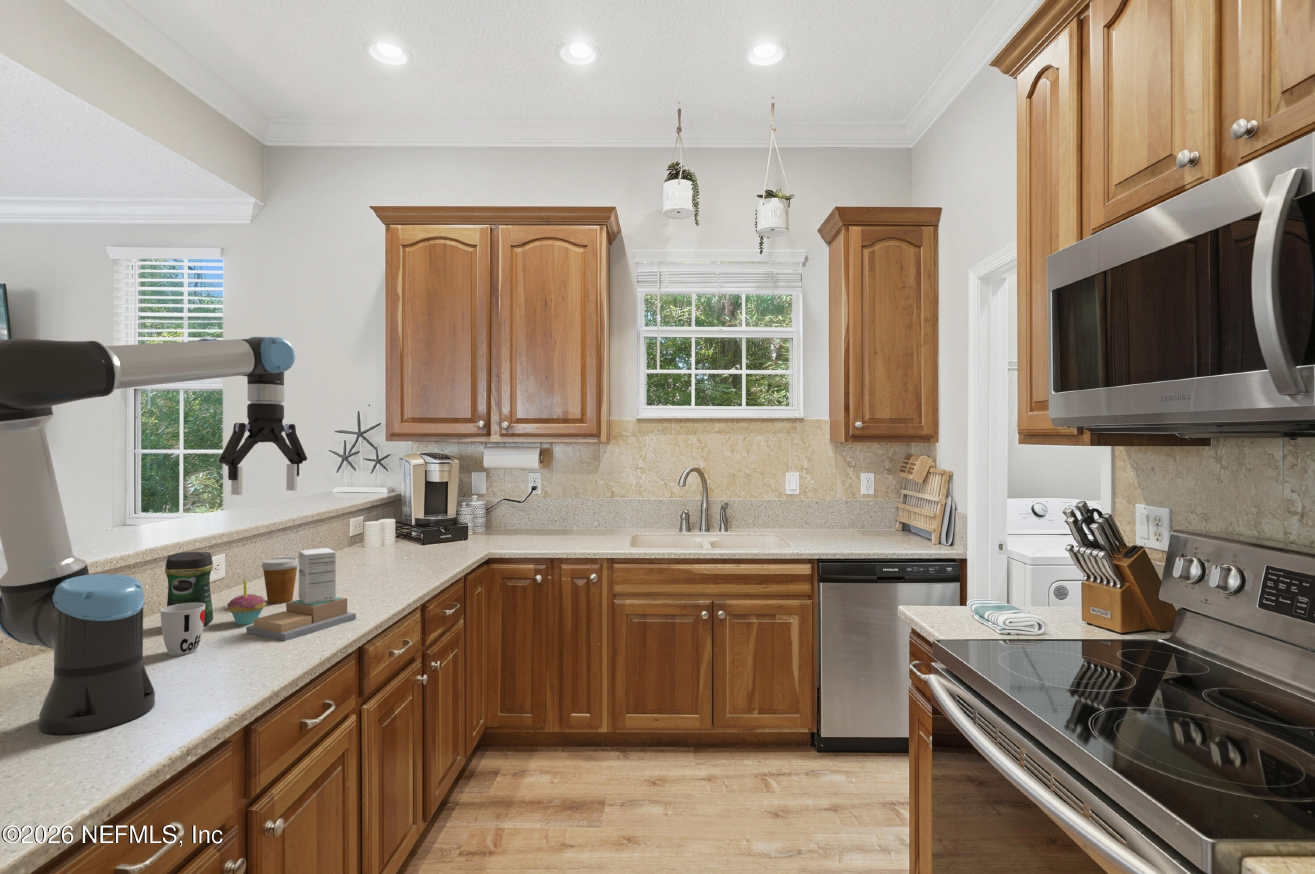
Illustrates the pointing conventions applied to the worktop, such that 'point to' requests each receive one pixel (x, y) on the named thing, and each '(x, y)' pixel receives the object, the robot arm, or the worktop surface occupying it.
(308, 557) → the supplement box
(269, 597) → the disposable coffee cup
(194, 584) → the coffee jar
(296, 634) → the build base
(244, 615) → the cupcake
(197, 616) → the cup
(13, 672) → the worktop surface
